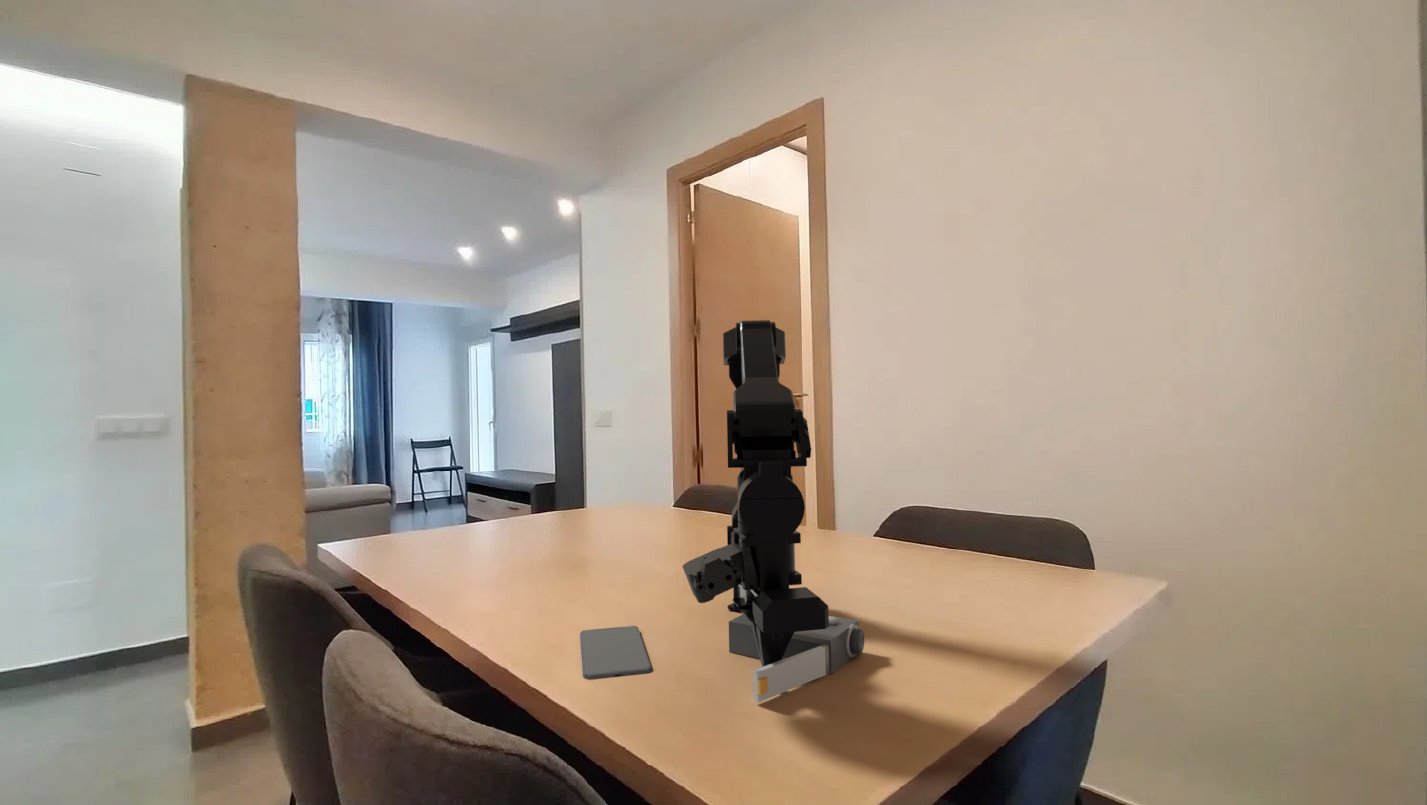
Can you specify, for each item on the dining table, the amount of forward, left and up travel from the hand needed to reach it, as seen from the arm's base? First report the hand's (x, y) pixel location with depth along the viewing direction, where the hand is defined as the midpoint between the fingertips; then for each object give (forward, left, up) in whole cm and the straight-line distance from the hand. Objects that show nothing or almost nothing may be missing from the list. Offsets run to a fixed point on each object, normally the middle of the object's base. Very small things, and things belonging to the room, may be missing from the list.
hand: (769, 673), depth 66 cm
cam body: (-3, +11, -2) cm, 11 cm away
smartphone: (-21, 0, -2) cm, 21 cm away
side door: (+2, +1, -1) cm, 3 cm away
